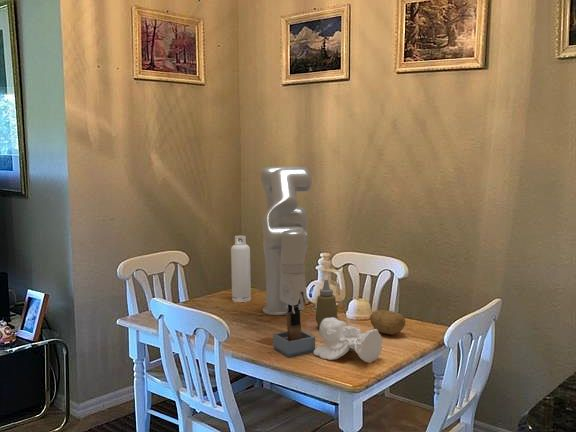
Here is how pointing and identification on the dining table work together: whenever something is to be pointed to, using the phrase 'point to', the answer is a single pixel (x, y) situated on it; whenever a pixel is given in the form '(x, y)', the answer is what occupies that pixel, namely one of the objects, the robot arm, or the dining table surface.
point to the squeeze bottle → (325, 304)
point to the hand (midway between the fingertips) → (293, 323)
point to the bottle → (240, 270)
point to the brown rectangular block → (293, 329)
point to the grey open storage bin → (293, 344)
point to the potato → (387, 321)
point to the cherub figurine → (347, 341)
